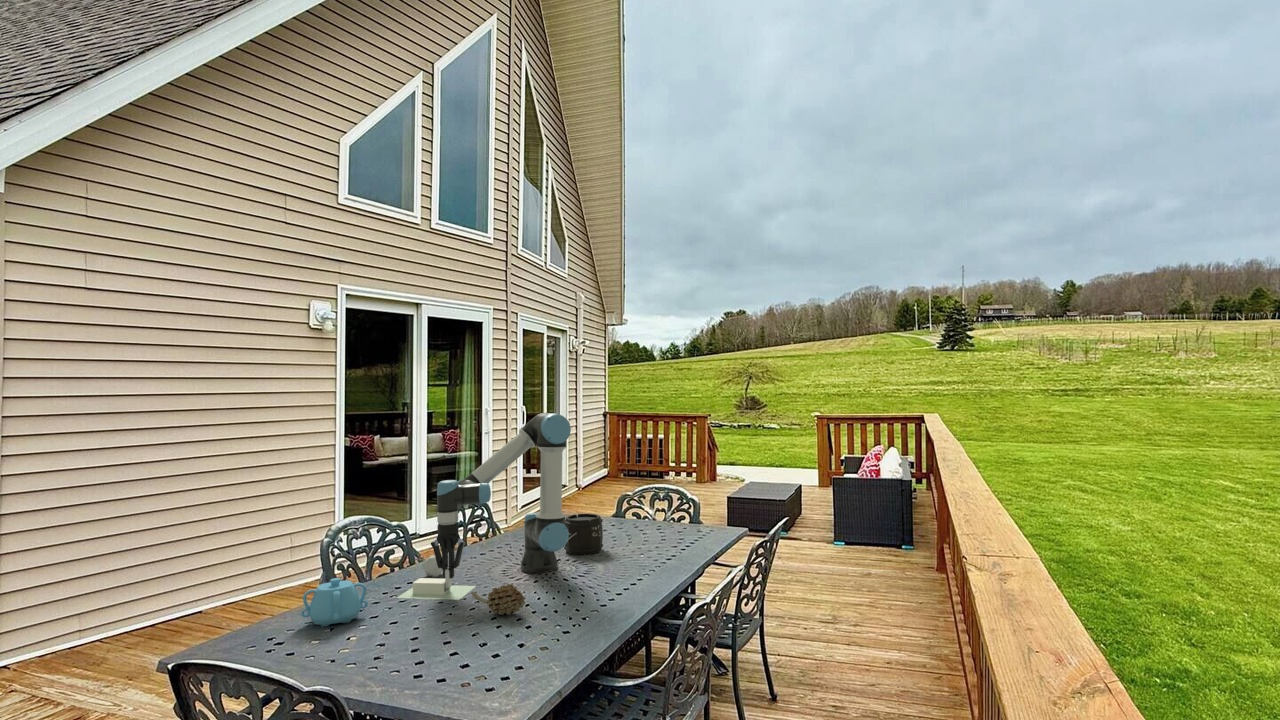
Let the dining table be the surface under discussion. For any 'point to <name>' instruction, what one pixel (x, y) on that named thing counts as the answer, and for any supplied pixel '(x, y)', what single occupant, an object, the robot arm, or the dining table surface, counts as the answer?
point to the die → (431, 567)
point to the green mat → (452, 594)
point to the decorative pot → (334, 602)
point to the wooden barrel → (584, 534)
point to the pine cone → (503, 599)
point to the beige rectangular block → (430, 586)
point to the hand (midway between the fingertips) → (448, 586)
